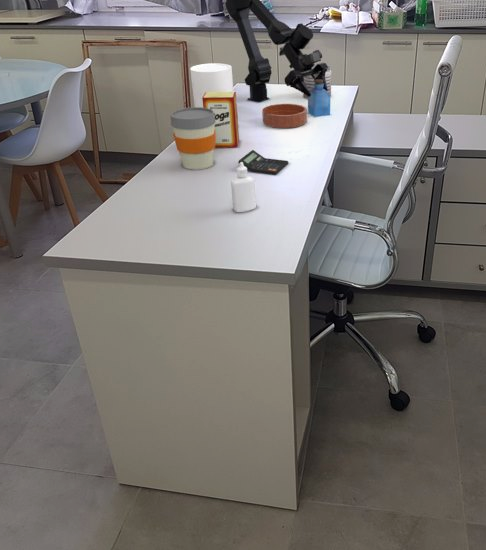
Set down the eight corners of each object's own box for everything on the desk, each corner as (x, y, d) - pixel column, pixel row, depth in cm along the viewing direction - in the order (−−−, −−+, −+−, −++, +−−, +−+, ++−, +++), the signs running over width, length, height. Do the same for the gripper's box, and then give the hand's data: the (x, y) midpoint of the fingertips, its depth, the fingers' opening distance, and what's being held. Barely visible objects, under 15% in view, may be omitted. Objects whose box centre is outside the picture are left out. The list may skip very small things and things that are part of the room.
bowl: (253, 123, 202) (253, 110, 199) (283, 113, 212) (282, 101, 209) (287, 131, 193) (286, 118, 191) (315, 120, 203) (315, 108, 201)
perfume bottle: (330, 114, 209) (330, 81, 203) (314, 116, 207) (314, 83, 201) (323, 110, 214) (323, 77, 208) (308, 112, 212) (307, 79, 206)
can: (301, 93, 237) (301, 63, 230) (329, 92, 238) (329, 62, 231) (305, 100, 227) (304, 69, 221) (333, 99, 228) (333, 68, 222)
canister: (189, 131, 195) (182, 70, 185) (209, 120, 206) (203, 62, 195) (224, 135, 191) (218, 73, 180) (242, 123, 201) (238, 64, 191)
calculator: (275, 175, 160) (275, 164, 158) (238, 170, 163) (237, 160, 161) (288, 163, 167) (287, 153, 165) (252, 159, 170) (251, 149, 169)
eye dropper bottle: (234, 205, 142) (230, 159, 136) (256, 205, 142) (253, 159, 136) (232, 212, 139) (228, 166, 132) (255, 212, 139) (252, 165, 132)
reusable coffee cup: (226, 158, 171) (222, 108, 163) (207, 173, 161) (201, 121, 153) (189, 154, 175) (183, 105, 167) (168, 169, 165) (161, 117, 157)
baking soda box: (239, 140, 186) (235, 90, 177) (237, 147, 180) (233, 95, 172) (210, 141, 186) (205, 91, 177) (207, 147, 180) (202, 96, 172)
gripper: (289, 46, 195) (313, 84, 195) (324, 39, 207) (347, 75, 206) (274, 67, 204) (297, 103, 203) (308, 59, 216) (330, 93, 215)
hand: (318, 93), depth 207 cm, fingers open, 9 cm apart
